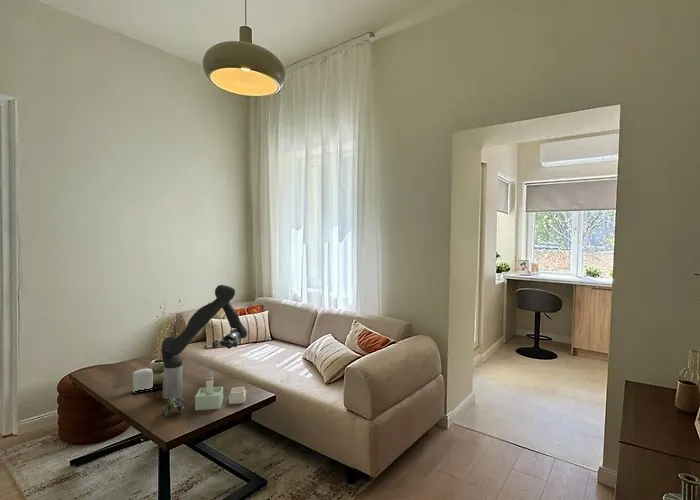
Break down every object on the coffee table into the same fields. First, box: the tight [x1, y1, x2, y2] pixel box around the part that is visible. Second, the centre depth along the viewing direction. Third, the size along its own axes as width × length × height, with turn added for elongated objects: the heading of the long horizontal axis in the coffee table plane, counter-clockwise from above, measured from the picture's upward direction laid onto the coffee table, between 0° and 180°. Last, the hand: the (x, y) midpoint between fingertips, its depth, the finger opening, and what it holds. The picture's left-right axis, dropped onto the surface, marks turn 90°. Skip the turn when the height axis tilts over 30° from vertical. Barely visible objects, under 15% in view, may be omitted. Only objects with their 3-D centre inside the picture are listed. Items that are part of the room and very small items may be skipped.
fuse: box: [205, 371, 214, 396], centre depth 202 cm, size 4×4×12 cm
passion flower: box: [156, 395, 185, 418], centre depth 190 cm, size 11×11×12 cm
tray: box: [194, 386, 224, 411], centre depth 203 cm, size 12×12×7 cm
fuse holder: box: [228, 386, 247, 405], centre depth 208 cm, size 8×8×6 cm
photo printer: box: [132, 368, 154, 393], centre depth 221 cm, size 10×4×12 cm, turn 123°
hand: (221, 347), depth 218 cm, fingers open, 8 cm apart
